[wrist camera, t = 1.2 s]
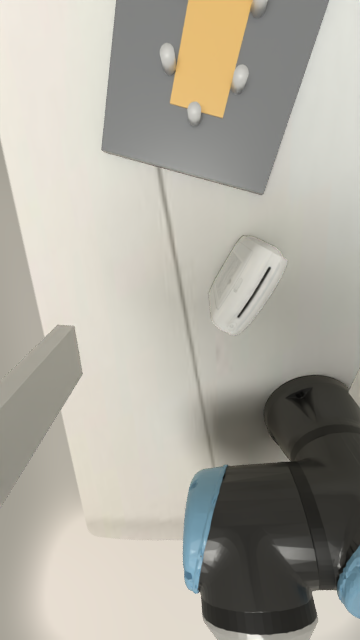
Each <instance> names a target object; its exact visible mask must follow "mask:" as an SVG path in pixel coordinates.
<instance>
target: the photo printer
mask: <svg viewBox="0 0 360 640" xmlns="http://www.w3.org/2000/svg"><path fill="white" fill-rule="evenodd" d="M287 263H288V260H287V259H285V258H284V257H283V255H282V253H281V252H280V250H279V249H278V248H276V247H275V246H273V245H271V244H268V243H266V242H264V241H262V240H260V239H258V238H256V237H253V236H246V237H245V236H242V237H241V238H240V239H239V241H238V242H237V243H236V245H235V246H234V248H233V249H232V251H231V253H230V255H229V256H228V258H227V260H226V261H225V263H224V265H223V266H222V268H221V270H220V272H219V273H218V275H217V277H216V279H215V281H214V283H213V285H212V287H211V289H210V292H209V303H210V313H211V320H212V322H213V323H214V325H215V326H216V327H217V328H219V329H220V330H221V331H224V332H227V333H228V334H230V335H234V336H236V335H238V334H240V333H241V332H242V331H243V330H244V329H245V328H247V326H248V325H249V324H250V323H251V322H252V321H253V319H254V318H255V317H256V316H257V314H258V313H259V312H260V310H261V309H262V308H263V306H264V305H265V303H266V302H267V300H268V299H269V297H270V296H271V294H272V293H273V291H274V289H275V288H276V286H277V284H278V283H279V281H280V279H281V277H282V275H283V273H284V271H285V269H286V266H287Z"/></svg>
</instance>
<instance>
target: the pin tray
mask: <svg viewBox="0 0 360 640" xmlns="http://www.w3.org/2000/svg"><path fill="white" fill-rule="evenodd" d="M328 2H329V0H116V8H115V18H114V28H113V38H112V48H111V58H110V68H109V79H108V89H107V99H106V109H105V119H104V129H103V139H102V149H101V150H102V151H104V152H106V153H109V154H113V155H117V156H120V157H124V158H128V159H131V160H135V161H139V162H142V163H146V164H150V165H153V166H157V167H161V168H164V169H168V170H172V171H175V172H179V173H183V174H186V175H190V176H194V177H197V178H201V179H205V180H209V181H212V182H216V183H220V184H223V185H227V186H231V187H234V188H238V189H242V190H245V191H249V192H253V193H256V194H260V195H262V194H263V193H264V191H265V188H266V185H267V182H268V179H269V176H270V173H271V170H272V167H273V164H274V161H275V158H276V155H277V152H278V149H279V146H280V143H281V140H282V137H283V135H284V132H285V129H286V126H287V123H288V120H289V117H290V114H291V111H292V108H293V105H294V102H295V99H296V96H297V93H298V90H299V87H300V84H301V81H302V79H303V76H304V73H305V70H306V67H307V64H308V61H309V58H310V55H311V52H312V49H313V46H314V43H315V40H316V37H317V34H318V31H319V28H320V25H321V23H322V20H323V17H324V14H325V11H326V8H327V5H328Z"/></svg>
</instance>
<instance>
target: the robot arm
mask: <svg viewBox="0 0 360 640" xmlns="http://www.w3.org/2000/svg"><path fill="white" fill-rule="evenodd" d="M82 374H83V373H82V367H81V361H80V356H79V350H78V344H77V338H76V333H75V327H74V326H68V325H57V326H56V327H55V328H54V329H53V330H52V331H51V332H50V333H49V334H48V335H47V336H46V337H45V338H44V339H43V340H42V341H41V342H40V343H39V344H38V345H36V346H35V348H33V349H32V350H31V351H30V352H29V353H28V355H27V356H25V357H24V358H23V359H22V360H21V361H20V362H19V363H18V364H17V365H16V366H15V367H14V368H13V369H12V370H11V371H10V372H9V373H8V374H7V375H6V376H5V377H4V378H3V379H2V380H1V381H0V508H1V506H2V505H3V503H4V501H5V500H6V498H7V497H8V495H9V493H10V492H11V490H12V488H13V487H14V485H15V484H16V482H17V480H18V478H19V477H20V475H21V474H22V472H23V471H24V469H25V467H26V466H27V464H28V462H29V461H30V459H31V457H32V456H33V454H34V452H35V451H36V449H37V448H38V446H39V444H40V443H41V441H42V440H43V438H44V436H45V435H46V433H47V431H48V429H49V428H50V426H51V425H52V423H53V422H54V420H55V418H56V417H57V415H58V413H59V412H60V410H61V409H62V407H63V405H64V404H65V402H66V400H67V399H68V397H69V395H70V394H71V392H72V391H73V389H74V387H75V386H76V384H77V382H78V381H79V379H80V378H81V376H82ZM264 419H265V423H266V426H267V429H268V431H269V434H270V435H271V437H272V439H273V440H274V441H275V442H276V443H277V444H278V445H279V446H280V447H281V449H282V451H283V452H284V454H285V455H286V456H287V457H288V459H289V460H290V461H291V462H277V463H264V464H250V465H237V466H228V465H224V466H223V467H216V468H209V469H203V470H200V471H199V472H197V473H196V474H195V476H194V477H193V479H192V481H191V484H190V487H189V492H188V497H187V502H186V510H185V519H184V533H183V566H184V578H185V583H186V586H187V588H188V589H189V590H191V591H193V592H194V593H195V594H196V593H199V592H200V593H201V599H202V613H203V620H204V622H205V624H206V625H207V626H208V628H209V629H210V630H211V632H212V633H213V634H214V636H215V637H216V638H217V640H309V639H310V637H311V635H312V633H313V631H314V629H315V627H316V624H317V622H318V617H317V612H316V609H315V604H314V600H313V596H312V591H316V590H337V594H338V597H339V599H340V600H341V602H342V603H343V604H344V605H345V607H346V609H347V610H348V611H349V612H350V613H351V614H352V615H353V616H355V617H357V618H359V619H360V368H359V371H358V373H357V375H356V377H355V379H354V381H353V383H352V386H351V388H350V389H349V388H348V387H347V386H346V385H344V384H343V383H342V382H340V381H338V380H336V379H333V378H330V377H325V376H306V377H301V378H297V379H294V380H292V381H289V382H287V383H285V384H284V385H282V386H281V387H279V388H278V389H277V390H276V391H275V392H274V393H273V394H272V395H271V396H270V398H269V399H268V401H267V403H266V405H265V409H264Z"/></svg>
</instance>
